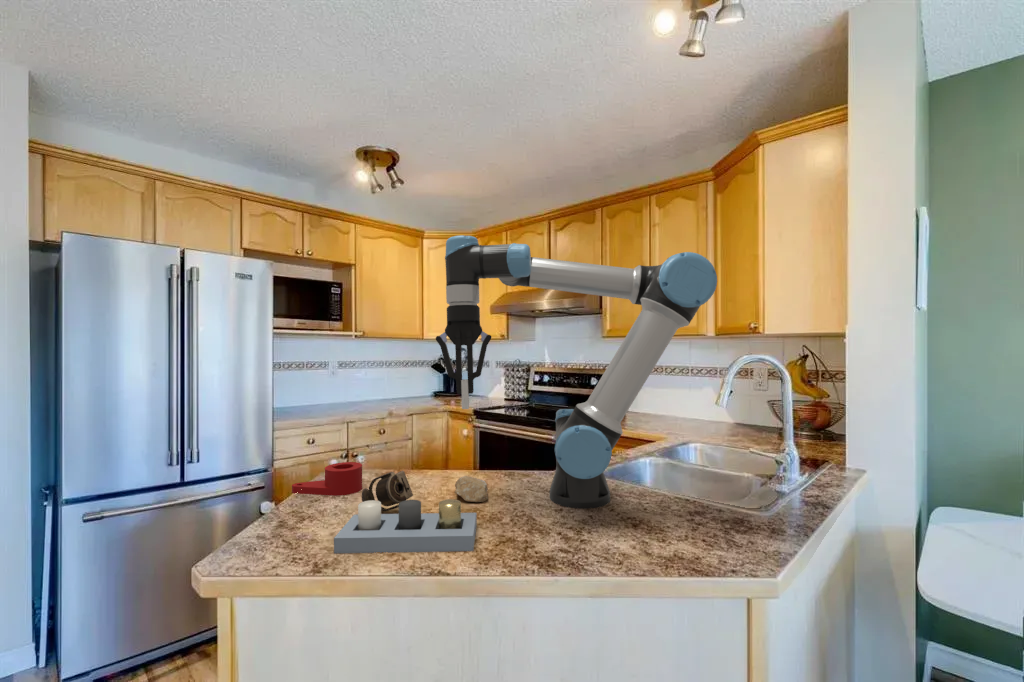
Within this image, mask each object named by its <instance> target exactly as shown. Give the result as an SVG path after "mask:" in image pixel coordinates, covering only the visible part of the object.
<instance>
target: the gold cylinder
mask: <svg viewBox="0 0 1024 682" xmlns="http://www.w3.org/2000/svg"><path fill="white" fill-rule="evenodd" d="M438 513H439V529H461V513H462V502H461V500H459V499H454V498H452V499H451V498H449V499H448V498H447V499H444V500H443V499H442V500H441V501H439V502H438Z"/></svg>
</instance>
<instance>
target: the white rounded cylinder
mask: <svg viewBox="0 0 1024 682" xmlns="http://www.w3.org/2000/svg"><path fill="white" fill-rule="evenodd" d="M381 507H382V504H381V502H380V501H378V500H376V499H375V500H369V501H364V502H362V501H361V502H360V503H358V505H357V510H358V511H357V514H358V531H360V530H380V529H381V514H382V511H381Z"/></svg>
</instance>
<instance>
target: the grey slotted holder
mask: <svg viewBox="0 0 1024 682" xmlns="http://www.w3.org/2000/svg"><path fill="white" fill-rule="evenodd" d="M477 519H478V518H477V512H461V529H439V512H438V513H436V512H430V513H429V512H428V513H427V512H426V513H425V512H423V513H422V512H421V529H420V530H399V513H381V529H380V530H360V531H358V513H357V514H353V515H352V516H351V517H350V519H349V520H348V521H346V524H344V526H343V527H342V528H341V529H340V530H339V532H337V534H336V535H335V536H334V537H333V554H375V553H376V552H380V554H381V553H382V552H383V553H384V552H385V553H386V552H388V553H437V552H439V553H440V552H442V553H443V552H445V553H446V552H447V553H449V552H474V548H475V541H476V533H477V523H478V521H477ZM374 552H375V553H374Z"/></svg>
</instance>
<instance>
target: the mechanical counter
mask: <svg viewBox="0 0 1024 682" xmlns="http://www.w3.org/2000/svg"><path fill="white" fill-rule="evenodd" d="M377 480H378V482H377V483H376V486H375V495H374V493H373V487H374V484H375V482H376V481H377ZM375 496H376V497H375ZM413 496H414V493H413V491H412V488H411V486H410V483H409V480H408V478H407V475H406V473H405V471H404V470H401V471H398V472H395V471H389V472H387V473H385V474H382V475H379V476H377V477H374V478H373V479H372V480H371V482H370V483H369V486H368V488H362V490H361V502H364V501H369V500H376V499H377V501H380V502H381V512H389V511H392V510H395V509H399V503H400V502H402V501H405V500H410V498H412V497H413ZM383 506H384V507H383ZM385 507H387V508H385ZM388 507H389V508H388Z"/></svg>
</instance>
